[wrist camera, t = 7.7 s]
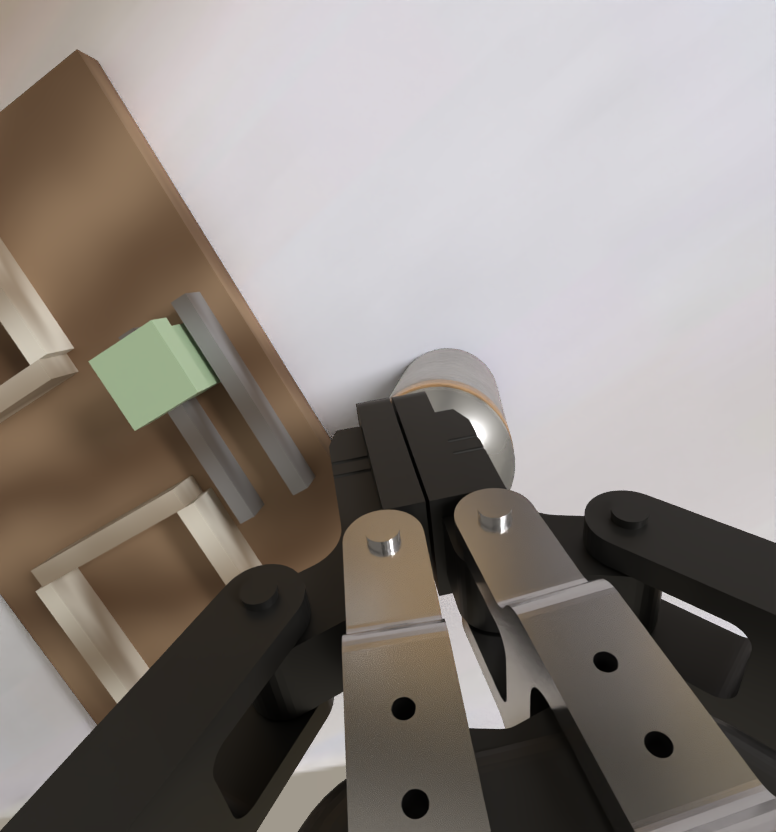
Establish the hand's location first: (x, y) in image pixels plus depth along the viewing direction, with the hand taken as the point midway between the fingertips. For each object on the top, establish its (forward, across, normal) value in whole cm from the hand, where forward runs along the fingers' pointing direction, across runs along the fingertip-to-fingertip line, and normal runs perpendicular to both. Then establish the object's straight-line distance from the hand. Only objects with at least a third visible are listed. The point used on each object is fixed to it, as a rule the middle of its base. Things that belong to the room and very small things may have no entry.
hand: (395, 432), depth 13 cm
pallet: (+17, -12, -9) cm, 23 cm away
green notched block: (+16, -7, -4) cm, 18 cm away
